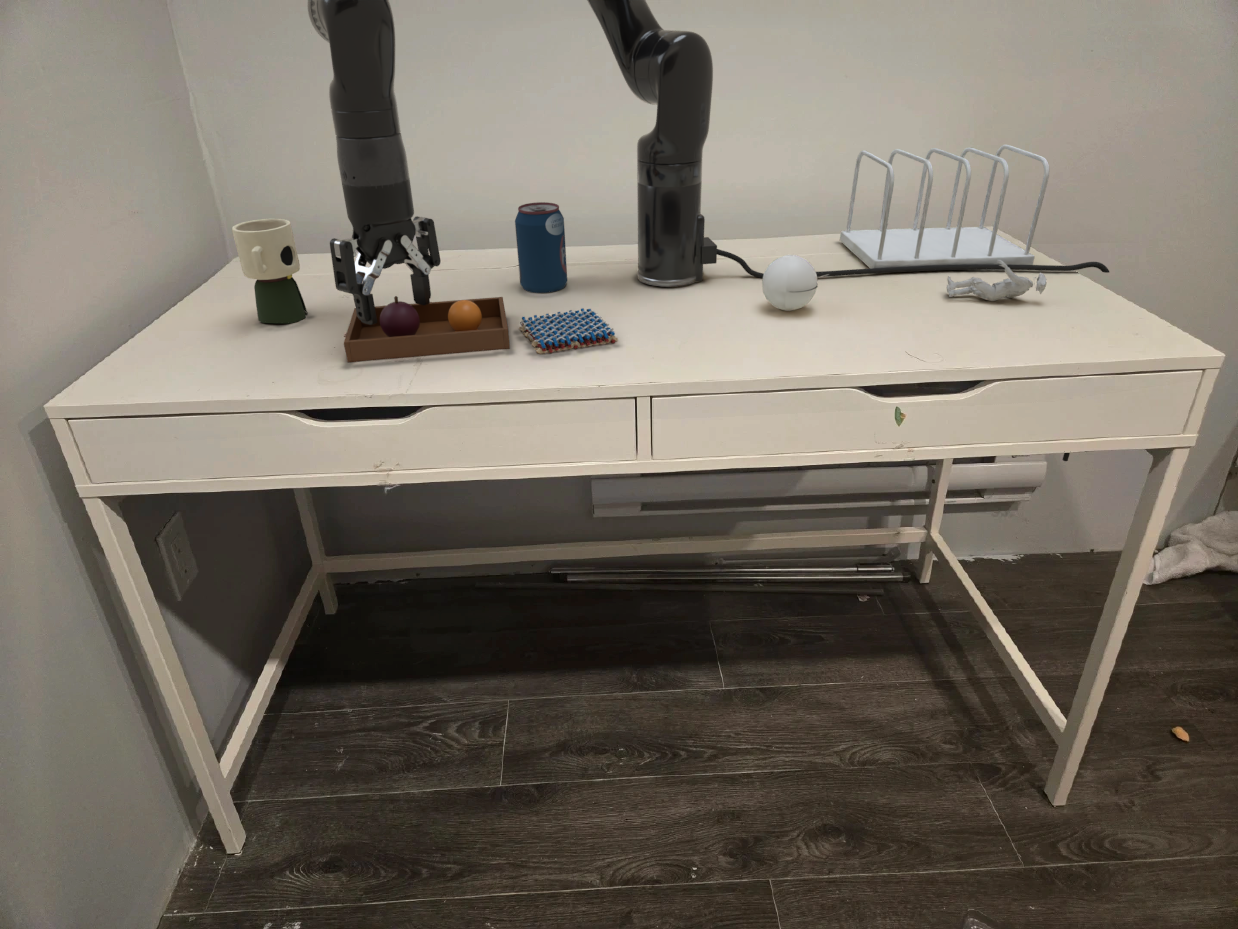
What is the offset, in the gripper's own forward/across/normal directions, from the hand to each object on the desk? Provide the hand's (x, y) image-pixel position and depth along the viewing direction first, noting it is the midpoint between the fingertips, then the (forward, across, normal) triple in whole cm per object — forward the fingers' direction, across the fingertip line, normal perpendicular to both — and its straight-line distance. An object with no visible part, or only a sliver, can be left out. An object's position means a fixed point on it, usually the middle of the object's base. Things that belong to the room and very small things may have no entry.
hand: (396, 313), depth 100 cm
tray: (+4, +3, -2) cm, 6 cm away
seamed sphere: (+4, +38, -36) cm, 53 cm away
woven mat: (+4, +13, -17) cm, 21 cm away
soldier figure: (+4, +55, -58) cm, 80 cm away
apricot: (+3, +6, -5) cm, 9 cm away
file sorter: (+4, +73, -44) cm, 85 cm away
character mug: (+4, -3, +20) cm, 21 cm away
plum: (+4, 0, 0) cm, 4 cm away
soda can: (+4, +26, -2) cm, 26 cm away
